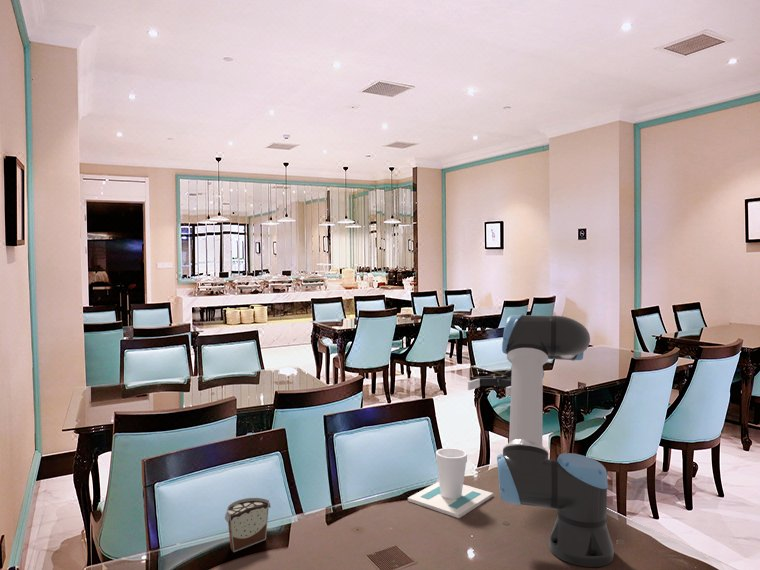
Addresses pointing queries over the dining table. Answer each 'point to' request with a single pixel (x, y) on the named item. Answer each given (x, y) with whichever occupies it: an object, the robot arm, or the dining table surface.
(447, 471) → the foam cup
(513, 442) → the robot arm
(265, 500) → the food container
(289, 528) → the dining table surface
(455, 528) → the dining table surface
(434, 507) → the letter board
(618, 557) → the dining table surface
